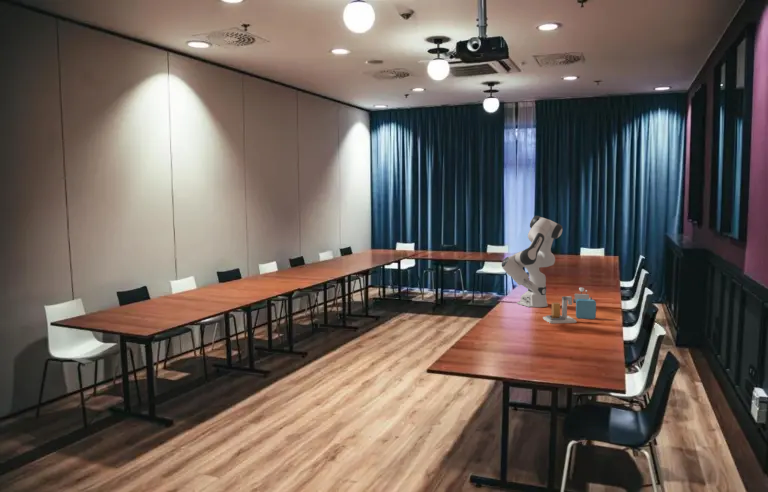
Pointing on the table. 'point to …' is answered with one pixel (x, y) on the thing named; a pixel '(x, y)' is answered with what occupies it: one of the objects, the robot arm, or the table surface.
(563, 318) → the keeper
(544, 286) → the robot arm
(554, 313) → the wooden square pillar
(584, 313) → the data package
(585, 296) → the toy car
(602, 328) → the table surface
